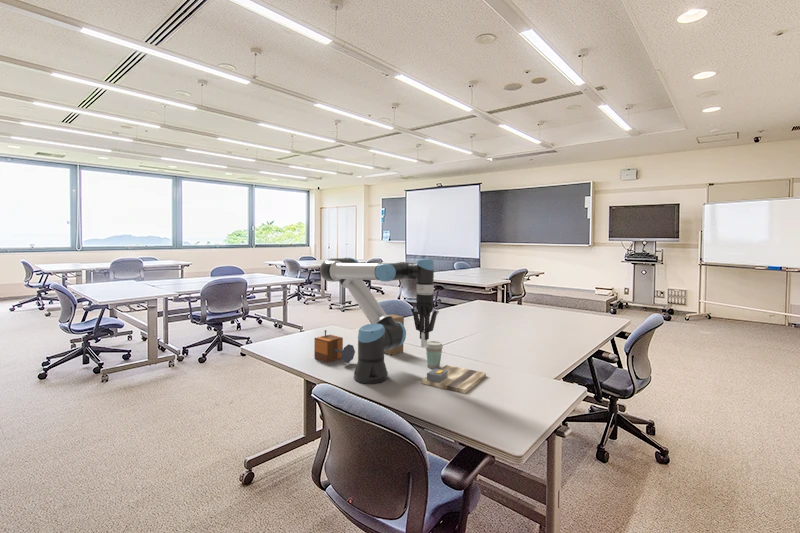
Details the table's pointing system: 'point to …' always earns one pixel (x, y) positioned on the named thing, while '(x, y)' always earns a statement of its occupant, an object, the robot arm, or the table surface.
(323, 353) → the wooden box with disc
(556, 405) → the table surface
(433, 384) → the plywood panel
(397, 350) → the wooden block
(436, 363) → the coffee cup
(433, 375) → the block
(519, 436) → the table surface
